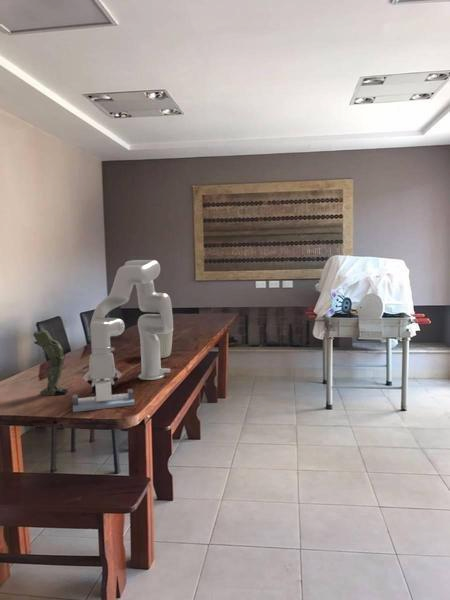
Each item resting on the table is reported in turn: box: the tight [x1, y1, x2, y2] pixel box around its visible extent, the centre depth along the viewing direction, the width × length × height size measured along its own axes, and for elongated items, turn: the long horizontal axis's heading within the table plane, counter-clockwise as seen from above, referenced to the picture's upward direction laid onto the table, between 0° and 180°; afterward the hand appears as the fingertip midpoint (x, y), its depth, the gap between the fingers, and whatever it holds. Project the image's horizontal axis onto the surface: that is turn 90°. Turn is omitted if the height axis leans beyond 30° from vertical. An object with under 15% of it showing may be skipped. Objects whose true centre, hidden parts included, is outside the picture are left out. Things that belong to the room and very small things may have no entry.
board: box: [72, 398, 136, 413], centre depth 196 cm, size 24×12×2 cm, turn 107°
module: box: [95, 378, 113, 401], centre depth 196 cm, size 6×8×8 cm
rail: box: [72, 388, 135, 407], centre depth 196 cm, size 24×5×3 cm, turn 107°
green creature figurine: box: [32, 329, 69, 396], centre depth 212 cm, size 14×7×30 cm, turn 92°
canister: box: [156, 328, 174, 359], centre depth 284 cm, size 18×18×21 cm
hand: (103, 393), depth 196 cm, fingers closed on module, 5 cm apart
